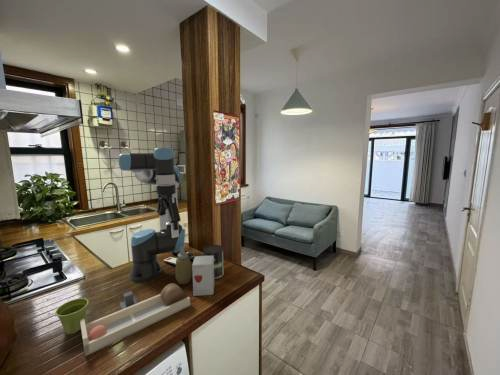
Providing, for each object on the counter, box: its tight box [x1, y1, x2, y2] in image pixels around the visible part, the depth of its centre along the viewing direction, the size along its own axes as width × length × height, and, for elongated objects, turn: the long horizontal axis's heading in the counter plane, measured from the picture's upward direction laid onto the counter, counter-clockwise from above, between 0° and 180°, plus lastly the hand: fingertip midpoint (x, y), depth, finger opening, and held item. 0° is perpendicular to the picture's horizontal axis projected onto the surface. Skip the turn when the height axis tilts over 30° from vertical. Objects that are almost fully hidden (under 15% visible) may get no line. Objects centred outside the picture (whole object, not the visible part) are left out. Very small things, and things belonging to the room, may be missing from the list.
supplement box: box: [191, 255, 215, 297], centre depth 103 cm, size 9×9×15 cm
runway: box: [80, 293, 191, 357], centre depth 85 cm, size 11×36×6 cm, turn 131°
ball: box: [89, 325, 107, 341], centre depth 74 cm, size 5×5×5 cm
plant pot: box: [54, 297, 90, 335], centre depth 81 cm, size 9×9×9 cm
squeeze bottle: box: [174, 246, 193, 285], centre depth 109 cm, size 8×8×18 cm
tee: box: [119, 290, 139, 310], centre depth 93 cm, size 6×6×5 cm
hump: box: [160, 283, 186, 306], centre depth 93 cm, size 6×8×8 cm
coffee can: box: [202, 244, 225, 280], centre depth 116 cm, size 10×10×14 cm
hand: (169, 233), depth 97 cm, fingers open, 13 cm apart
